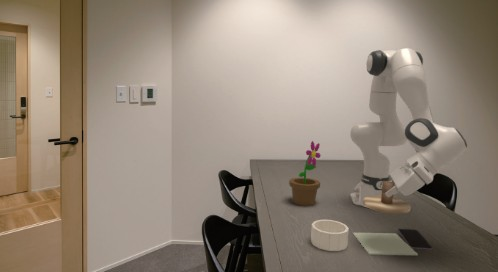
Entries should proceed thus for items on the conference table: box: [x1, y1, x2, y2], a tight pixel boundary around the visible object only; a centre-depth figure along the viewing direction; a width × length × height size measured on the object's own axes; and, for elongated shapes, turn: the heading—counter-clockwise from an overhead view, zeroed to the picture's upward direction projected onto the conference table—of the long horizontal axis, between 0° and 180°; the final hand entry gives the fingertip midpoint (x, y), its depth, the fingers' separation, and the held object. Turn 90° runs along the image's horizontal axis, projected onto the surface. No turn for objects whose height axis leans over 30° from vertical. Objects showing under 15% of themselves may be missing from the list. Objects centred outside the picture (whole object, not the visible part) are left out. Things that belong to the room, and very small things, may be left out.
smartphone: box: [397, 228, 433, 251], centre depth 121 cm, size 7×1×15 cm
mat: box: [352, 232, 419, 257], centre depth 117 cm, size 16×16×1 cm
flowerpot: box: [288, 140, 322, 207], centre depth 157 cm, size 14×14×30 cm
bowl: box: [310, 219, 350, 252], centre depth 116 cm, size 12×12×6 cm
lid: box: [363, 180, 412, 215], centre depth 114 cm, size 15×15×8 cm
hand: (385, 193), depth 114 cm, fingers closed on lid, 4 cm apart
